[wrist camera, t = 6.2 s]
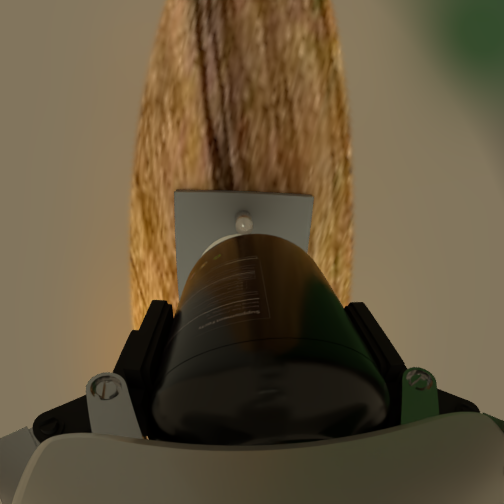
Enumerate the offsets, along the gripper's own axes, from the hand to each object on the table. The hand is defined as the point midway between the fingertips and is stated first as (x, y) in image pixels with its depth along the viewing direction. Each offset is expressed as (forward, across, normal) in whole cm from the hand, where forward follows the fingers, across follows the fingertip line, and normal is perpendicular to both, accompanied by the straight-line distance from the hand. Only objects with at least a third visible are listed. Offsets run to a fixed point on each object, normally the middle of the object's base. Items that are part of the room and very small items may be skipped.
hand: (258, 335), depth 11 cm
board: (+21, 0, +7) cm, 22 cm away
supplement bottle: (+3, 0, 0) cm, 3 cm away
